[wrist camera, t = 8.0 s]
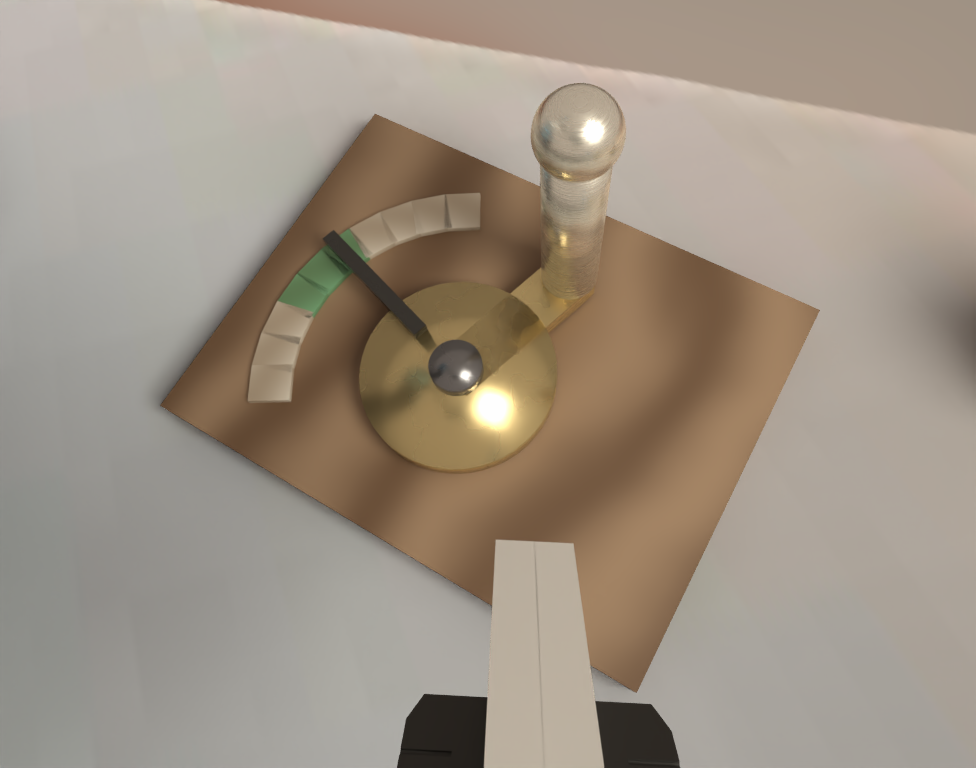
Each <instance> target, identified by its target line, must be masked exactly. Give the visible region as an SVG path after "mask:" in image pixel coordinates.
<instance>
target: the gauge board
mask: <svg viewBox="0 0 976 768" xmlns="http://www.w3.org/2000/svg"><path fill="white" fill-rule="evenodd" d="M333 230H334V231H335V232H336V233H337V234H338V235H339V236H340V237H341V238H342V239H343V240H344V241H345V242H346V243H347V244H348V245H349V246H350V247H351V248H352V249H353V250H354V251H355V252H356V253H357V254H358V255H359V256H360V257H361V258H362V259H363V260H364V261H365V263H366V264H367V265H368V266H369V267H370V268H371V269H372V270H373V271H374V272H375V273H376V274H377V275H378V276H379V277H380V278H381V279H382V280H383V281H384V282H385V283H386V284H387V285H388V286H389V287H390V288H391V289H392V290H393V291H394V292H395V293H396V295H397V296H398V297H399V298H400V299H401V300H404V299H405V298H407V297H409V296H411V295H412V294H414V293H416V292H418V291H421V290H423V289H426V288H428V287H432V286H435V285H439V284H445V283H451V282H473V283H480V284H485V285H489V286H493V287H496V288H499V289H501V290H503V291H505V292H508V293H512V292H513V291H514V290H515V289H516V288H517V287H519V286H520V285H521V284H522V283H523V282H524V281H526V280H527V279H528V278H529V277H530V276H532V275H533V274H534V273H535V272H536V271H537V270H539V269H540V268H541V203H540V186H537V185H535V184H533V183H531V182H528V181H526V180H524V179H522V178H519V177H517V176H515V175H513V174H510V173H508V172H506V171H503V170H501V169H499V168H497V167H494V166H492V165H490V164H488V163H485V162H483V161H481V160H479V159H476V158H474V157H472V156H469V155H467V154H465V153H463V152H460V151H458V150H456V149H454V148H451V147H449V146H447V145H445V144H442V143H440V142H438V141H435V140H433V139H431V138H429V137H426V136H424V135H422V134H420V133H417V132H415V131H413V130H411V129H408V128H406V127H404V126H402V125H399V124H397V123H395V122H392V121H390V120H388V119H386V118H383V117H381V116H379V115H377V114H375V115H374V116H373V117H372V119H371V120H370V121H369V123H368V124H367V125H366V127H365V128H364V130H363V131H362V132H361V134H360V135H359V136H358V138H357V139H356V140H355V142H354V143H353V144H352V146H351V147H350V149H349V150H348V151H347V153H346V154H345V155H344V157H343V158H342V159H341V161H340V162H339V163H338V165H337V166H336V168H335V169H334V170H333V172H332V173H331V174H330V176H329V177H328V178H327V180H326V181H325V182H324V184H323V185H322V187H321V188H320V189H319V191H318V192H317V193H316V195H315V196H314V197H313V199H312V200H311V201H310V203H309V204H308V206H307V207H306V208H305V210H304V211H303V212H302V214H301V215H300V216H299V218H298V219H297V220H296V222H295V223H294V225H293V226H292V227H291V229H290V230H289V231H288V233H287V234H286V235H285V237H284V238H283V240H282V241H281V242H280V244H279V245H278V246H277V248H276V249H275V250H274V252H273V253H272V254H271V256H270V257H269V259H268V260H267V261H266V263H265V264H264V265H263V267H262V268H261V269H260V271H259V272H258V273H257V275H256V276H255V278H254V279H253V280H252V282H251V283H250V284H249V286H248V287H247V288H246V290H245V291H244V292H243V294H242V295H241V297H240V298H239V299H238V301H237V302H236V303H235V305H234V306H233V307H232V309H231V310H230V311H229V313H228V314H227V316H226V317H225V318H224V320H223V321H222V322H221V324H220V325H219V326H218V328H217V329H216V330H215V332H214V333H213V335H212V336H211V337H210V339H209V340H208V341H207V343H206V344H205V345H204V347H203V348H202V350H201V351H200V352H199V354H198V355H197V356H196V358H195V359H194V360H193V362H192V363H191V364H190V366H189V367H188V369H187V370H186V371H185V373H184V374H183V375H182V377H181V378H180V379H179V381H178V382H177V383H176V385H175V386H174V388H173V389H172V390H171V392H170V393H169V394H168V396H167V397H166V398H165V400H164V401H163V402H162V404H161V405H160V406H162V407H163V408H165V409H167V410H168V411H170V412H172V413H173V414H175V415H177V416H178V417H180V418H182V419H183V420H185V421H187V422H188V423H190V424H191V425H193V426H195V427H196V428H198V429H200V430H201V431H203V432H205V433H206V434H208V435H210V436H211V437H213V438H215V439H216V440H218V441H220V442H221V443H223V444H225V445H226V446H228V447H230V448H231V449H233V450H235V451H236V452H238V453H240V454H241V455H243V456H245V457H246V458H248V459H250V460H251V461H253V462H254V463H256V464H258V465H259V466H261V467H263V468H264V469H266V470H268V471H269V472H271V473H273V474H274V475H276V476H278V477H279V478H281V479H283V480H284V481H286V482H288V483H289V484H291V485H293V486H294V487H296V488H298V489H299V490H301V491H303V492H304V493H306V494H308V495H309V496H311V497H313V498H314V499H316V500H317V501H319V502H321V503H322V504H324V505H326V506H327V507H329V508H331V509H332V510H334V511H336V512H337V513H339V514H341V515H342V516H344V517H346V518H347V519H349V520H351V521H352V522H354V523H356V524H357V525H359V526H361V527H362V528H364V529H366V530H367V531H369V532H371V533H372V534H374V535H375V536H377V537H379V538H380V539H382V540H384V541H385V542H387V543H389V544H390V545H392V546H394V547H395V548H397V549H399V550H400V551H402V552H404V553H405V554H407V555H409V556H410V557H412V558H414V559H415V560H417V561H419V562H420V563H422V564H424V565H425V566H427V567H429V568H430V569H432V570H434V571H435V572H437V573H438V574H440V575H442V576H443V577H445V578H447V579H448V580H450V581H452V582H453V583H455V584H457V585H458V586H460V587H462V588H463V589H465V590H467V591H468V592H470V593H472V594H473V595H475V596H477V597H478V598H480V599H482V600H483V601H485V602H487V603H488V604H490V605H492V601H493V582H494V563H495V544H496V540H515V541H535V542H556V543H573V544H574V551H575V559H576V566H577V573H578V580H579V588H580V595H581V602H582V609H583V617H584V624H585V631H586V638H587V646H588V653H589V660H590V665H591V666H593V667H594V668H596V669H598V670H599V671H601V672H603V673H604V674H606V675H608V676H609V677H611V678H613V679H614V680H616V681H618V682H619V683H621V684H622V685H624V686H626V687H627V688H629V689H631V690H632V691H634V692H636V693H637V691H638V689H639V687H640V685H641V682H642V680H643V678H644V676H645V674H646V672H647V670H648V668H649V666H650V664H651V662H652V660H653V657H654V655H655V653H656V651H657V649H658V647H659V645H660V643H661V641H662V639H663V637H664V634H665V632H666V630H667V628H668V626H669V624H670V622H671V620H672V618H673V616H674V614H675V611H676V609H677V607H678V605H679V603H680V601H681V599H682V597H683V595H684V593H685V591H686V588H687V586H688V584H689V582H690V580H691V578H692V576H693V574H694V572H695V570H696V568H697V566H698V563H699V561H700V559H701V557H702V555H703V553H704V551H705V549H706V547H707V545H708V543H709V540H710V538H711V536H712V534H713V532H714V530H715V528H716V526H717V524H718V522H719V520H720V517H721V515H722V513H723V511H724V509H725V507H726V505H727V503H728V501H729V499H730V497H731V495H732V492H733V490H734V488H735V486H736V484H737V482H738V480H739V478H740V476H741V474H742V472H743V469H744V467H745V465H746V463H747V461H748V459H749V457H750V455H751V453H752V451H753V449H754V446H755V444H756V442H757V440H758V438H759V436H760V434H761V432H762V430H763V428H764V426H765V423H766V421H767V419H768V417H769V415H770V413H771V411H772V409H773V407H774V405H775V403H776V401H777V398H778V396H779V394H780V392H781V390H782V388H783V386H784V384H785V382H786V380H787V378H788V375H789V373H790V371H791V369H792V367H793V365H794V363H795V361H796V359H797V357H798V355H799V352H800V350H801V348H802V346H803V344H804V342H805V340H806V338H807V336H808V334H809V332H810V329H811V327H812V325H813V323H814V321H815V319H816V317H817V315H818V313H819V311H820V310H818V309H816V308H814V307H812V306H809V305H807V304H805V303H802V302H800V301H798V300H796V299H793V298H791V297H789V296H787V295H784V294H782V293H780V292H778V291H775V290H773V289H771V288H769V287H766V286H764V285H762V284H759V283H757V282H755V281H753V280H750V279H748V278H746V277H744V276H741V275H739V274H737V273H735V272H732V271H730V270H728V269H725V268H723V267H721V266H719V265H716V264H714V263H712V262H710V261H707V260H705V259H703V258H701V257H698V256H696V255H694V254H691V253H689V252H687V251H685V250H682V249H680V248H678V247H676V246H673V245H671V244H669V243H667V242H664V241H662V240H660V239H658V238H655V237H653V236H651V235H648V234H646V233H644V232H642V231H639V230H637V229H635V228H633V227H630V226H628V225H626V224H624V223H621V222H619V221H617V220H614V219H612V218H610V217H608V216H606V218H605V225H604V232H603V239H602V246H601V253H600V261H599V268H598V275H597V281H596V284H595V289H594V294H593V295H592V296H591V297H590V298H589V299H588V300H587V301H585V302H584V303H583V304H582V305H581V306H580V307H579V308H577V309H576V310H575V311H574V312H573V313H572V314H571V315H569V316H568V317H567V318H566V319H565V320H564V321H563V322H561V323H560V324H559V325H558V326H557V327H556V328H555V329H553V330H552V331H551V332H550V333H549V336H550V338H551V341H552V343H553V346H554V349H555V355H556V360H557V386H556V395H555V399H554V403H553V406H552V409H551V412H550V414H549V417H548V418H547V420H546V422H545V424H544V426H543V428H542V429H541V430H540V432H539V433H538V434H537V436H536V437H535V438H534V439H533V440H532V441H531V442H530V443H529V444H528V445H527V447H526V448H524V449H523V450H522V451H520V452H519V453H518V454H517V455H515V456H514V457H512V458H510V459H509V460H507V461H505V462H504V463H501V464H499V465H497V466H494V467H492V468H489V469H485V470H482V471H478V472H472V473H462V474H451V473H441V472H436V471H432V470H428V469H425V468H422V467H420V466H417V465H415V464H413V463H411V462H409V461H408V460H406V459H404V458H403V457H401V456H400V455H399V454H397V453H396V452H395V451H394V450H393V449H392V448H390V447H389V446H388V445H387V444H386V443H385V441H384V440H383V439H382V438H381V436H380V435H379V434H378V432H377V431H376V430H375V428H374V427H373V425H372V424H371V422H370V420H369V418H368V417H367V414H366V412H365V409H364V406H363V403H362V399H361V394H360V386H359V372H360V364H361V359H362V355H363V352H364V349H365V346H366V344H367V342H368V340H369V337H370V335H371V334H372V332H373V330H374V329H375V327H376V326H377V324H378V323H379V322H380V321H381V319H382V318H383V317H384V316H385V315H386V314H387V313H388V312H389V310H388V309H387V308H386V307H385V306H384V305H383V304H382V303H381V302H380V301H379V300H378V298H377V297H376V296H375V295H374V294H373V293H372V292H371V291H370V290H369V289H368V288H367V287H366V286H365V285H364V284H363V283H362V282H361V281H360V280H359V279H358V278H357V276H356V275H355V274H354V273H353V272H352V271H351V270H350V269H349V268H348V267H347V266H346V265H345V264H344V263H343V262H342V261H341V260H340V259H339V258H338V257H337V256H336V254H335V253H334V252H333V251H332V250H331V249H330V248H329V247H328V246H327V245H326V244H325V242H324V241H323V239H322V238H324V237H325V236H326V235H327V234H329V233H330V232H331V231H333Z"/></svg>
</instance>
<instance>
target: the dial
mask: <svg viewBox="0 0 976 768" xmlns="http://www.w3.org/2000/svg"><path fill="white" fill-rule="evenodd" d="M625 139H626V124H625V119H624V115H623V112H622V110H621V108H620V106H619V104H618V103H617V101H616V100H615V99H614V98H613V97H612V96H611V95H610V94H609V93H608V92H606V91H605V90H604V89H602V88H600V87H598V86H595V85H591V84H586V83H574V84H569V85H565V86H563V87H560V88H558V89H557V90H555V91H554V92H552V93H551V94H550V95H548V96H547V97H546V98H545V99H544V101H543V102H542V103H541V104H540V106H539V107H538V109H537V111H536V113H535V115H534V118H533V122H532V126H531V144H532V149H533V151H534V154H535V157H536V159H537V160H538V162H539V164H540V203H541V268H540V269H539V270H537V271H536V272H535V273H534V274H533V275H532V276H530V277H529V278H528V279H527V280H526V281H524V282H523V283H522V284H521V285H520V286H519V287H517V288H516V289H515V290H514V291H513V292H512V293H508V292H505V291H503V290H501V289H499V288H496V287H493V286H489V285H485V284H480V283H473V282H451V283H445V284H439V285H435V286H432V287H428V288H426V289H423V290H421V291H418V292H416V293H414V294H412V295H411V296H409V297H407V298H405V299H404V300H401V299H400V298H399V297H398V296H397V295H396V293H395V292H394V291H393V290H392V289H391V288H390V287H389V286H388V285H387V284H386V283H385V282H384V281H383V280H382V279H381V278H380V277H379V276H378V275H377V274H376V273H375V272H374V271H373V270H372V269H371V268H370V267H369V266H368V265H367V264H366V263H365V261H364V260H363V259H362V258H361V257H360V256H359V255H358V254H357V253H356V252H355V251H354V250H353V249H352V248H351V247H350V246H349V245H348V244H347V243H346V242H345V241H344V240H343V239H342V238H341V237H340V236H339V235H338V234H337V233H336V232H335V231H334V230H333V231H331V232H330V233H329V234H327V235H326V236H325V237H324V238H322V239H323V241H324V242H325V244H326V245H327V246H328V247H329V248H330V249H331V250H332V251H333V252H334V253H335V254H336V256H337V257H338V258H339V259H340V260H341V261H342V262H343V263H344V264H345V265H346V266H347V267H348V268H349V269H350V270H351V271H352V272H353V273H354V274H355V275H356V276H357V278H358V279H359V280H360V281H361V282H362V283H363V284H364V285H365V286H366V287H367V288H368V289H369V290H370V291H371V292H372V293H373V294H374V295H375V296H376V297H377V298H378V300H379V301H380V302H381V303H382V304H383V305H384V306H385V307H386V308H387V309H388V310H389V312H388V313H387V314H386V315H385V316H384V317H383V318H382V319H381V321H380V322H379V323H378V324H377V326H376V327H375V329H374V330H373V332H372V334H371V335H370V337H369V340H368V342H367V344H366V346H365V349H364V352H363V355H362V359H361V364H360V372H359V386H360V394H361V399H362V403H363V406H364V409H365V412H366V414H367V417H368V418H369V420H370V422H371V424H372V425H373V427H374V428H375V430H376V431H377V432H378V434H379V435H380V436H381V438H382V439H383V440H384V441H385V443H386V444H387V445H388V446H389V447H390V448H392V449H393V450H394V451H395V452H396V453H397V454H399V455H400V456H401V457H403V458H404V459H406V460H408V461H409V462H411V463H413V464H415V465H417V466H420V467H422V468H425V469H428V470H432V471H436V472H441V473H451V474H462V473H472V472H478V471H482V470H485V469H489V468H492V467H494V466H497V465H499V464H501V463H504V462H505V461H507V460H509V459H510V458H512V457H514V456H515V455H517V454H518V453H519V452H520V451H522V450H523V449H524V448H526V447H527V445H528V444H529V443H530V442H531V441H532V440H533V439H534V438H535V437H536V436H537V434H538V433H539V432H540V430H541V429H542V428H543V426H544V424H545V422H546V420H547V418H548V417H549V414H550V412H551V409H552V406H553V403H554V399H555V395H556V386H557V360H556V355H555V349H554V346H553V343H552V341H551V338H550V336H549V333H550V332H551V331H552V330H553V329H555V328H556V327H557V326H558V325H559V324H560V323H561V322H563V321H564V320H565V319H566V318H567V317H568V316H569V315H571V314H572V313H573V312H574V311H575V310H576V309H577V308H579V307H580V306H581V305H582V304H583V303H584V302H585V301H587V300H588V299H589V298H590V297H591V296H592V295H593V294H594V289H595V284H596V281H597V275H598V268H599V261H600V253H601V246H602V239H603V232H604V225H605V218H606V210H607V203H608V196H609V189H610V182H611V174H612V167H613V165H614V164H615V163H616V161H617V160H618V158H619V157H620V155H621V153H622V150H623V147H624V143H625Z"/></svg>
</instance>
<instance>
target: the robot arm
mask: <svg viewBox="0 0 976 768" xmlns="http://www.w3.org/2000/svg"><path fill="white" fill-rule="evenodd" d="M397 768H680V766H679V758H678V754H677V750H676V747H675V743H674V739H673V735H672V731H671V730H670V728H669V727H668V726H667V725H666V723H665V722H664V721H663V719H662V718H661V717H660V715H659V714H658V713H657V711H656V710H655V709H654V707H653V706H652V705H651V704H637V703H619V702H600V701H595V696H594V689H593V682H592V675H591V667H590V660H589V653H588V646H587V638H586V631H585V624H584V617H583V609H582V602H581V595H580V588H579V580H578V573H577V566H576V559H575V551H574V544H573V543H556V542H535V541H515V540H496V544H495V563H494V582H493V601H492V620H491V640H490V659H489V678H488V697H470V696H451V695H433V694H424V695H423V697H422V698H421V699H420V701H419V702H418V703H417V705H416V706H415V707H414V709H413V710H412V712H411V713H410V714H409V716H408V717H407V718H406V723H405V728H404V734H403V739H402V744H401V752H400V755H399V760H398V765H397Z"/></svg>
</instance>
